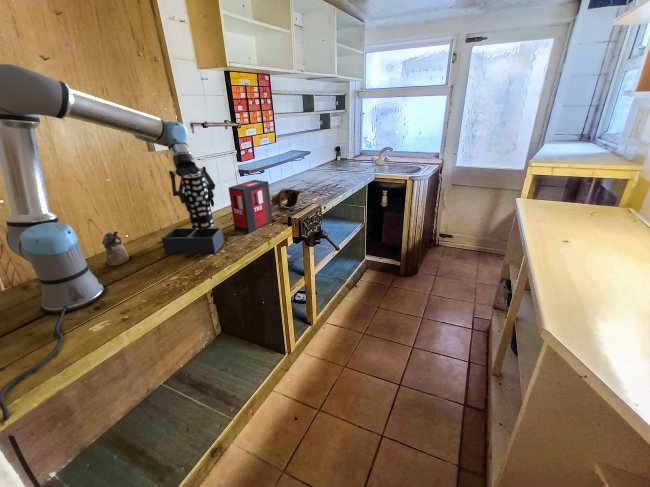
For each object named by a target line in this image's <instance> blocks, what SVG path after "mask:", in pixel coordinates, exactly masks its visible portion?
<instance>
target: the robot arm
mask: <svg viewBox="0 0 650 487" xmlns="http://www.w3.org/2000/svg"><path fill="white" fill-rule="evenodd" d="M40 116H45V117H50V118H51V117H52V118H55V119H59V120H63V119H65V118H70V119H74V120H78V121H82V122H86V123H90V124H93V125H97V126H100V127H101V126H102V127H104V128H109V129H112V130H116V131H120V132H124V133H129V134H132V135H133V137H134V138H135V139H137V140H141V141H143V142H148V143H151V144H156V145H160V146H163V147H166V148H167V149H168V152H169V153H170V157H171V159H172V162H173V165H174V168H175V170H173V171H172V170H168V177H169V178H170V180H171V190H172V196H173V197H178V199H179V201H180V203H181V204H184V206H185V209H186V211H187V212H188V211H190V207H189V204H188V201H187V199H186V196H185V193H184V189H183V184H182V180H181V179H180V182H179V187H178V190H177V185H176V184H177V183H176V177H177V176H179V177H180V178H181V176H183V175H187V174H195V173H201V174H205V179H206V185H207V190H208V195H209V200H210V206H211V208H213V207H215V201H214V197H215V194H214V191H215V190H216V184H215V182H214V181H213V179H212V178H211V176H210V175H209V173H208V171H207V168H206V166H202V167H199V166H197V164H196V161H195V159H194V157H193V153H192V151H191V149H190V147H189V144H188V141H187V140H188V137H189V135H188V129H187V128H186V126H185V125H184V123H181V122H179V121H174V120H173V121H171V120H167V119H163V118H161V117H157V116H155V115H152V114H149V113H145V112H143V111H139V110H136V109H133V108H130V107H127V106H124V105H122V104H118V103H115V102H113V101H109V100H105V99H103V98H101V97H97V96H94V95H91V94H89V93H84V92H82V91H79V90H76V89H73V88H70V87H69V85H68V84H67V83H66V82H63V81H61V80H58V79H55V78H53V77H50V76H47V75H44V74H43V73H39V72H37V71H34V70H31V69H28V68H26V67H23V66H19V65H15V64H10V63H1V64H0V168H1V169H0V170H1V173H2V178H3V181H4V186H5V191H6V195H7V199H8V204H9V208H10V214H9V215H8V216H7V217H6V218H5V223H6V227H7V230H6V234H5V241H6V244H7V246H8V248H9V249H10V250H11V251H12V252H13V253H14V254H15V255H17V256H18V257H21V258H22V259H23V260H26V261H27V262H29V263H30V264H31V266H32V268H33V270H34V273H35V275H36V276H37V278H38V281H39V282H40V286H41V287H40V288H41V307H42V308H43V310H44V312H46V313H49V314H59V317H58V319H57V321H56V323H55V326H54V332H55V334H56V335H57V336H58V342H57V344H56V346H55V347H54V348H53V349H52V351H51V352H49V353H48V354H47V355H46V356H45V358H43V359H42V360H41V361H40V362H38V363H37V364H36V365H34V366H33V367H31V368H29V369H28V370H26V371H24V372H23V373H21V374H19V375H18V376H16V377H15V378H14V379H12V380H11V381H9V382H8V383H7V384H6V385H5V386H4V387H2V389H1V391H0V409H1V412H2V416H3V421H4V422H6V421H8V420H9V419H10V413H9V409H8V406H7V404H6V402H5V400H4V395H5V393H6V392H7V391H8V390H9V388H10V387H12V386H13V385H14V384H15V383H17V382H18V381H20V380H21V379H23V378H24V377H26V376H27V375H29V374H31V373H33V372H34V371H36V370H37V369H39V368H41V366H43V365H44V364H45V363H46V362H47V361H48V360H49V359H51V358H52V357H53V355H55V353H57V351H58V350H59V349H60V347H61V345H62V343H63V341H64V336H63V334H62V333H61V331H60V329H59V327H60V325H61V321H62V320H63V317H64V315H65V313H68V312H69V313H70V312H72V311H76V310H80V309H82V308H84V307H87V306H88V305H91V304H92V303H94V302H96V301H97V300H98V299H100V298H101V297H102V296H103V294H105V287H104V283H103V281H102V280H101V279H98V278H97V277H96V276H95V275H94V273H93V272H92V271H91V270H90V268H89V265H88V263H87V261H86V258H85V255H84V253H83V249H82V247H81V245H80V242H79V240H78V235H77V233H76V232H75V230H74V228H73V227H72V226H71V225H70V224H67V223H64V222H59V217H58V215H57V214H55V213H54V212H52V210H51V208H50V204H49V203H50V202H49V198H48V193H47V188H46V183H45V182H46V181H45V176H44V172H43V167H42V161H41V156H40V151H39V146H38V140H37V134H36V128H38V127H39V126H40V125H41V120H40ZM7 437H8V440H9V443H10V445H11V447H12V450H13V451H14V454H15V455H16V457H17V459H18V461H19V463H20V465H21V467H22V468H23V470H24V472H25V474H26V475H27V477H28V479H29V480H30V482H31V483H32V485H33V486H34V487H42V486H41V484H40V482H39V481H38V479H37V477H36V476H35V475H34V473H33V471H32V470H31V468H30V466H29V464H28V463H27V461H26V460H27V459H25V456H24V455H23V453H22V451H21V449H20V447H19V444H18V441H17V440H16V437H15V435H7Z"/></svg>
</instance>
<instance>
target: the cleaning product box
mask: <svg viewBox="0 0 650 487" xmlns="http://www.w3.org/2000/svg"><path fill="white" fill-rule="evenodd" d="M228 193H229V200H230V207H231V213H232V220H233V226H234V230H236V231H239V232H244V233H247V234H250V233H252V232H255V231H256V230H258V229H261V228H262V227H264V226H266V225H268V224H270V223H273V215H272V214H273V213H272V202H271V196H270V195H271V194H270V183H269V181H267V180H259V179H252V180H249V181H246V182H245V181H244V182H243V183H239V184H236V185H233V186H229V187H228Z"/></svg>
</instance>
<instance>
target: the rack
mask: <svg viewBox="0 0 650 487" xmlns="http://www.w3.org/2000/svg"><path fill="white" fill-rule="evenodd" d="M160 239H161V242H162V247H163V250H164V254H216V253H217V252H218V251H219V249H220V248H221V247H222V246H223V245H224V244H225V237H224V232H223V228H222V227H210V228H206V229H193V228H192V227H184V228H183V227H175V228H173V229H171V230H170V231H168V232H167V233H166V234H165V235H163V236H162V237H161V238H160Z"/></svg>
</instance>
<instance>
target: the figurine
mask: <svg viewBox="0 0 650 487" xmlns="http://www.w3.org/2000/svg"><path fill="white" fill-rule="evenodd" d="M118 233H119V232H118V231H117V230H115V231H114V232H113V233H112V232H111V231H107V232H106V233H104V235H103V237H102V239H103V240H102V242H101V244H102V245H103V247H104V249H105V253H106V262H107V265H109V266H110V267H111V266H119V265H122V264H125V263H127V262H128V261H129V260H130V256H129V253H128V251H127V250H126V247H125V245H123V244H122V242H123V241H122V238H121V237H120V235H118Z"/></svg>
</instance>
